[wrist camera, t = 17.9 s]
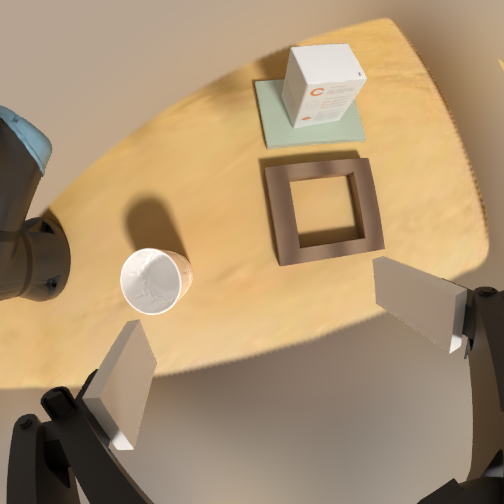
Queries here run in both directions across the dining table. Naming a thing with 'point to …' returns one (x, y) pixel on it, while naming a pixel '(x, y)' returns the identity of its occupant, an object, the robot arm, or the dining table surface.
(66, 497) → the robot arm
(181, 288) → the white cup
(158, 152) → the dining table surface
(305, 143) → the board
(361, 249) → the walnut holder
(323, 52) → the small box
